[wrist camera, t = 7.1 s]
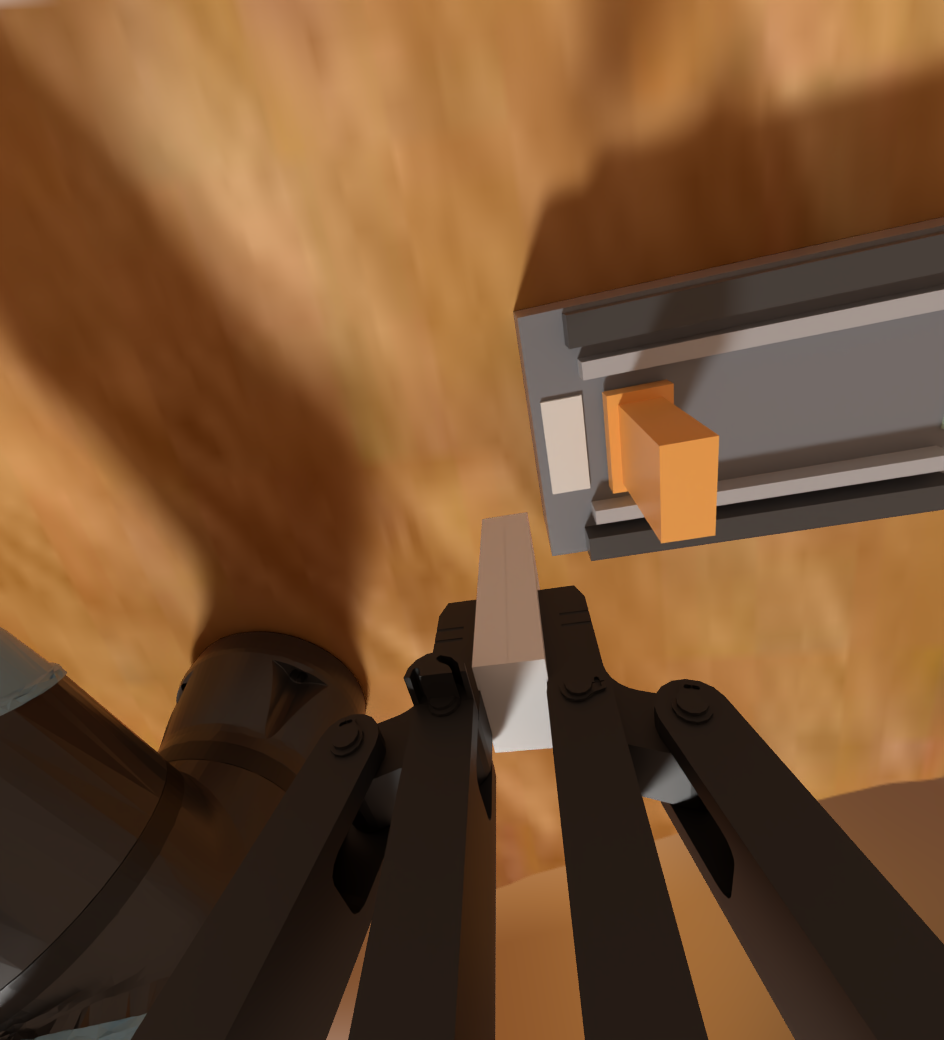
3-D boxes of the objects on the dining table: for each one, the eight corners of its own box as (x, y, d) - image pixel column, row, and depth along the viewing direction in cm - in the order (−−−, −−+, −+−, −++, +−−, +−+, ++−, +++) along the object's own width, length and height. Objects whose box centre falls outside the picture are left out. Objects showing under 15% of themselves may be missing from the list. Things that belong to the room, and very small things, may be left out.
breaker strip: (544, 516, 31) (555, 569, 26) (513, 311, 25) (518, 320, 20) (899, 459, 28) (1000, 504, 23) (955, 214, 23) (1110, 191, 17)
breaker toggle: (609, 485, 24) (648, 556, 18) (601, 391, 22) (644, 435, 16) (667, 476, 24) (728, 544, 18) (666, 379, 22) (735, 418, 16)
